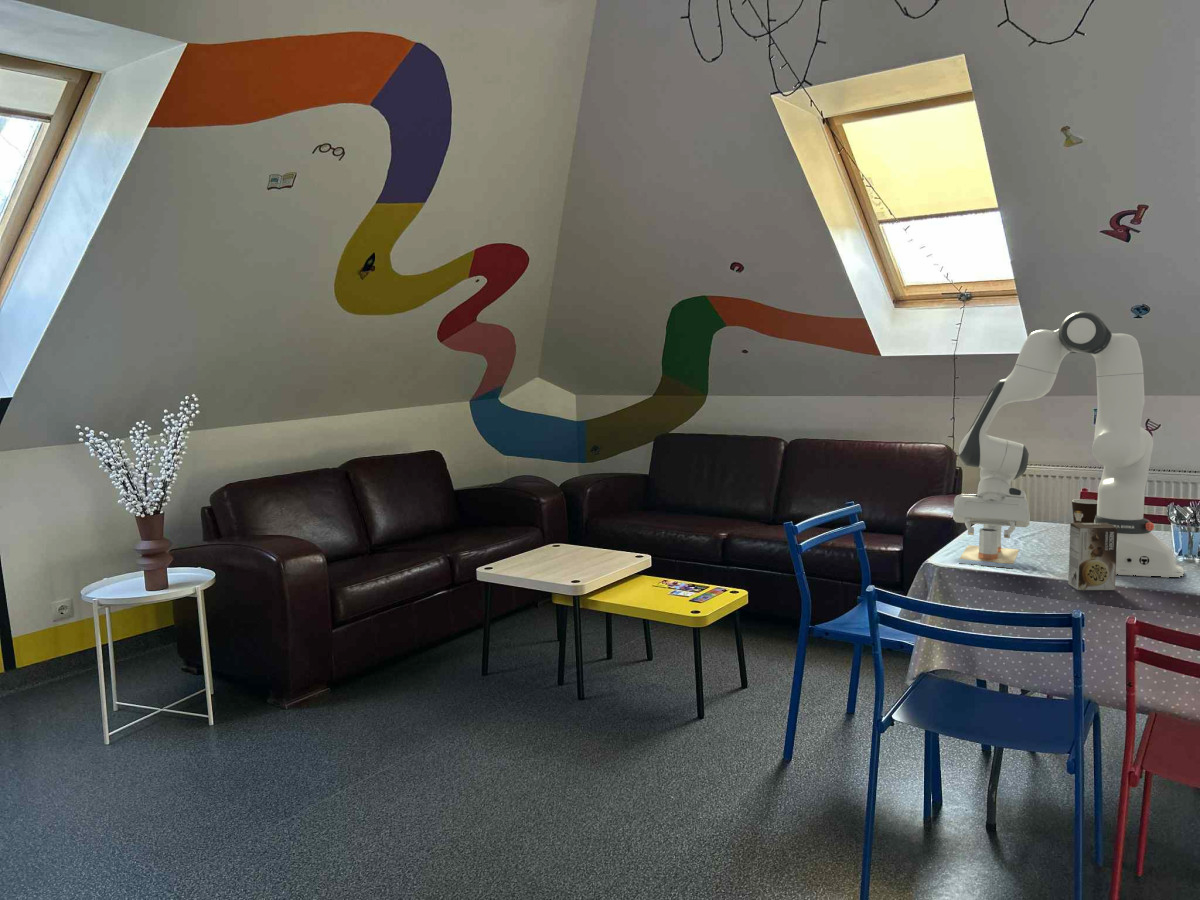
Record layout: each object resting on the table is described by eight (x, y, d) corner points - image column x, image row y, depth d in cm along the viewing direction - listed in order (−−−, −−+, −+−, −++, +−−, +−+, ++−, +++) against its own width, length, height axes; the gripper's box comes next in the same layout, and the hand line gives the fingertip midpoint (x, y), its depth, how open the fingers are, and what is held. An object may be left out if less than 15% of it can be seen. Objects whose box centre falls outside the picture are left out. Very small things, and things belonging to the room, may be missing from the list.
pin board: (1019, 554, 267) (1019, 536, 266) (1013, 569, 249) (1013, 549, 249) (968, 550, 274) (968, 532, 273) (958, 564, 256) (959, 544, 256)
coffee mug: (1065, 529, 303) (1066, 499, 302) (1091, 528, 303) (1092, 499, 301) (1083, 536, 291) (1085, 505, 290) (1110, 535, 291) (1112, 505, 290)
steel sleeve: (998, 556, 258) (999, 529, 257) (996, 560, 254) (997, 532, 253) (979, 555, 260) (980, 527, 259) (977, 558, 256) (978, 530, 255)
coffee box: (1104, 584, 233) (1107, 522, 231) (1115, 591, 226) (1119, 527, 224) (1066, 583, 233) (1069, 522, 232) (1077, 590, 227) (1080, 526, 225)
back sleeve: (1001, 549, 267) (1002, 522, 266) (999, 553, 262) (1000, 525, 262) (983, 548, 269) (984, 521, 268) (981, 551, 265) (982, 524, 264)
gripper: (954, 487, 266) (948, 525, 259) (1031, 491, 256) (1027, 531, 249) (956, 500, 271) (950, 538, 263) (1032, 504, 261) (1028, 544, 253)
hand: (988, 535), depth 256 cm, fingers open, 8 cm apart
